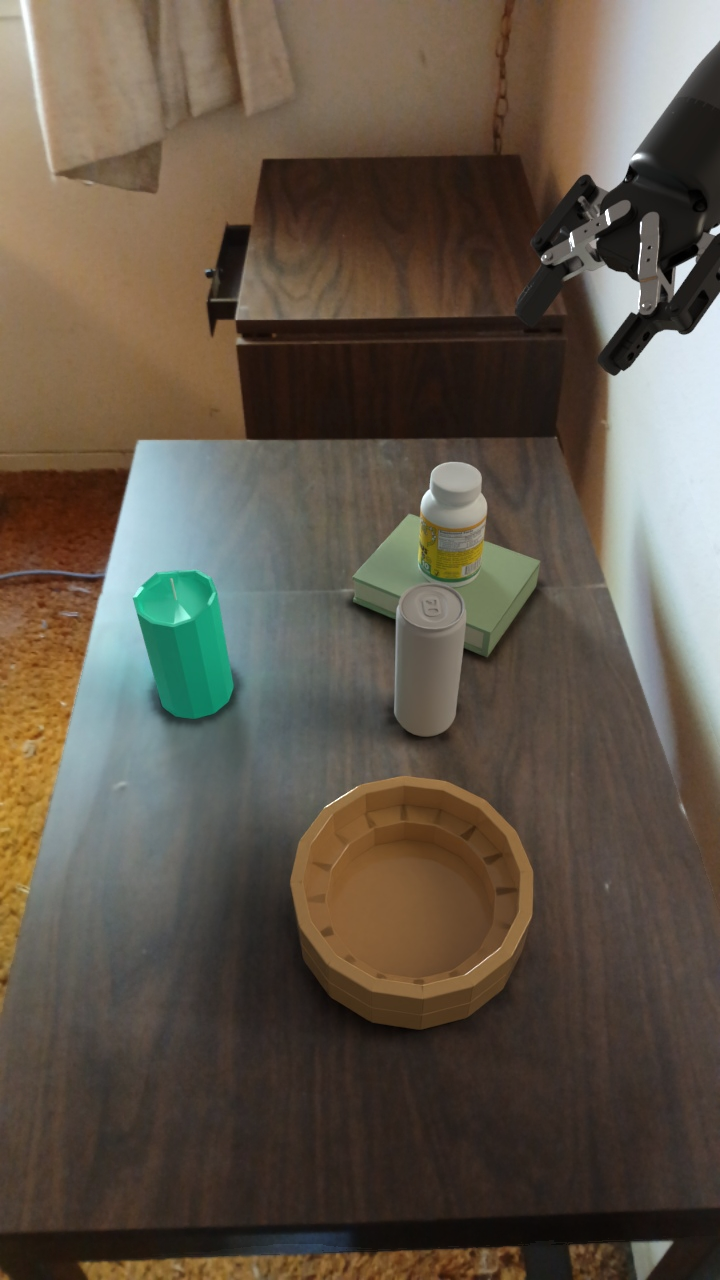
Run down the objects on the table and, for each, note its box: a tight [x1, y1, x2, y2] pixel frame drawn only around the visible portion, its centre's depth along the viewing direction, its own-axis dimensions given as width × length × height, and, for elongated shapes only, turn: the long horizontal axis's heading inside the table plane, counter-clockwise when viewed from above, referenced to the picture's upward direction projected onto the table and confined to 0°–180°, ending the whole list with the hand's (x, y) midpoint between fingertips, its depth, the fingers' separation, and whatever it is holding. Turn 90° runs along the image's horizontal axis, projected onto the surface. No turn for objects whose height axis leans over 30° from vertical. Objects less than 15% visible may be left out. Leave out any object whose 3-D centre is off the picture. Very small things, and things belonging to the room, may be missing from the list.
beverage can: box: [393, 583, 466, 738], centre depth 65 cm, size 5×5×12 cm
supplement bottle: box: [418, 461, 488, 588], centre depth 73 cm, size 5×5×10 cm
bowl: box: [289, 775, 534, 1031], centre depth 56 cm, size 15×15×5 cm
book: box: [352, 513, 541, 658], centre depth 77 cm, size 13×10×3 cm
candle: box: [132, 569, 235, 720], centre depth 67 cm, size 6×6×12 cm
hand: (562, 344), depth 63 cm, fingers open, 8 cm apart
